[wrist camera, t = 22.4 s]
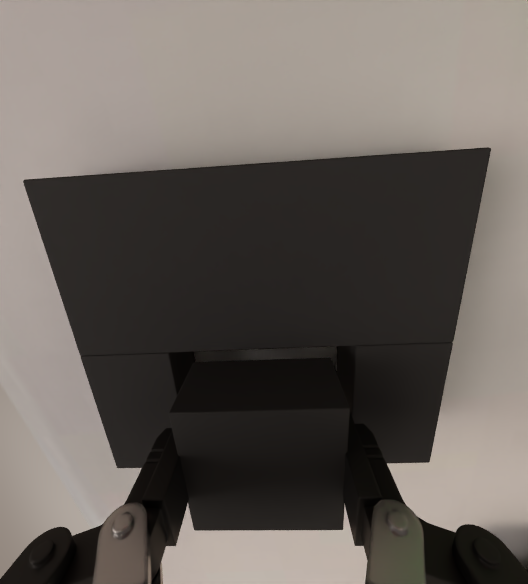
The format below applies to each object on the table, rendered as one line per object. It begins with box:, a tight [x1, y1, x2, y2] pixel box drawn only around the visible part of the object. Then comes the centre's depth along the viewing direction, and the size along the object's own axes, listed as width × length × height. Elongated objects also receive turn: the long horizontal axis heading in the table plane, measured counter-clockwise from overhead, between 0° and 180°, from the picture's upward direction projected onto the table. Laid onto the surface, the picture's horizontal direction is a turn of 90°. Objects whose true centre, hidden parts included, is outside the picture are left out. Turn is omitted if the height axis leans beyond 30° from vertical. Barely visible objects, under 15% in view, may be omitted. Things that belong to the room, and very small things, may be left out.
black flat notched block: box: [23, 148, 491, 468], centre depth 13 cm, size 16×14×3 cm
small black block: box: [169, 358, 350, 530], centre depth 11 cm, size 6×6×3 cm
